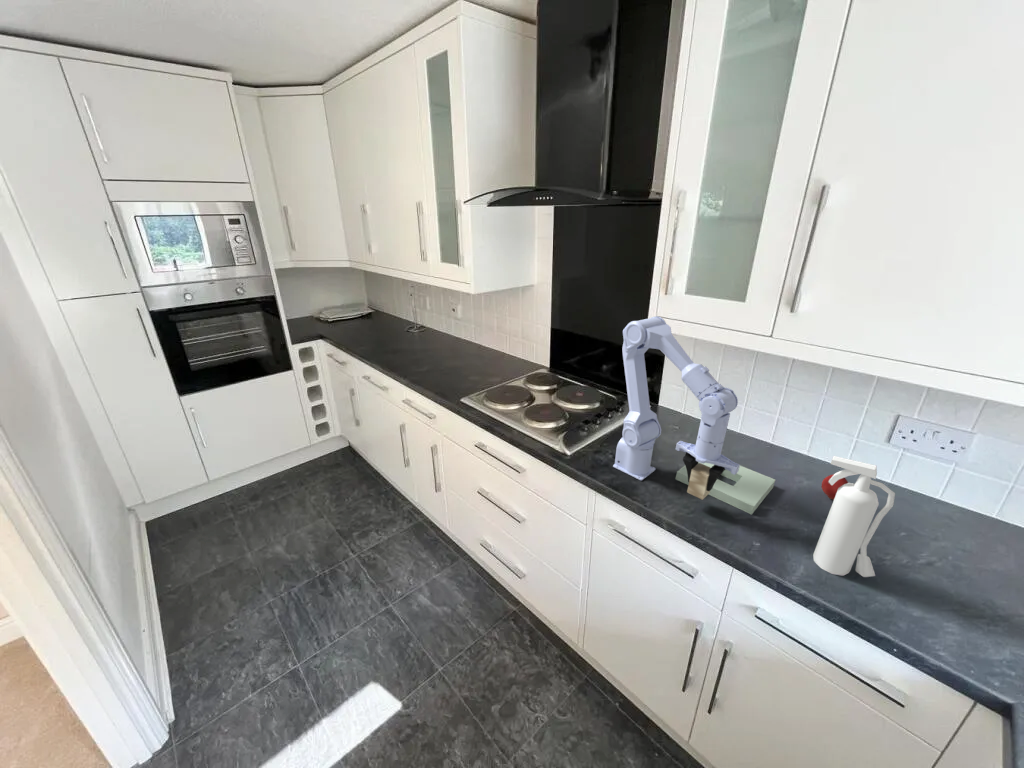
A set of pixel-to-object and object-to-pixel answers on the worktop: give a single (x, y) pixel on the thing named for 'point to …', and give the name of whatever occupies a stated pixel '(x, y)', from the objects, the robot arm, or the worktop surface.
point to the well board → (737, 487)
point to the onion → (832, 486)
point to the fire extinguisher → (851, 520)
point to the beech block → (699, 481)
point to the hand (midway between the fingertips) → (700, 484)
